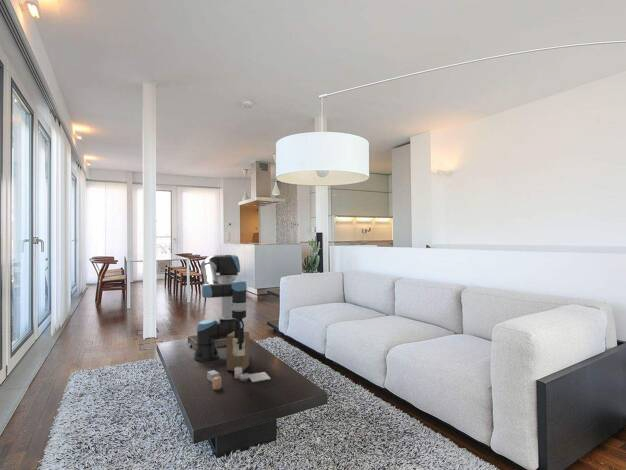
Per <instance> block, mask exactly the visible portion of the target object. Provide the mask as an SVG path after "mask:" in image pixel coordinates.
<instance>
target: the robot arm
mask: <svg viewBox="0 0 626 470" xmlns="http://www.w3.org/2000/svg"><path fill="white" fill-rule="evenodd" d="M240 264H241V262H240V259H239V256H237V255H236V254H213V255H210V256H208V257H206V258H205V259H203V261H202V262H201V264H200V272H201V274H202V275H203V282H204V283H203V284H202V286H201V296H202V298H203V299H210V298H221V316H220V317H219V320H217V319H216V318H209V319H204V320H201V321H198V323H197V325H196V326H197V327H196V335H197V347H196V350H194V354H193V359H194V360H195V361H198V362H209V361H210V362H211V361H212V360H216V359H218V358H219V355H220V354H219V350H218V347H217V346H216V340H222V339H227V335H229V334H230V333H232V332H234V331H235V336H234V337H235V338H238V343H237V356H243V343H244V332H245V330H244V329H245V323H244V321H243V319H245V318H247V288H248V287H247V282H246V280H236V278H237V276H239V275H238V274H239V273H240V272H241V265H240ZM217 274H219V277H220V278H221V283H220V282H219V279H218V276H217Z"/></svg>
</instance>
